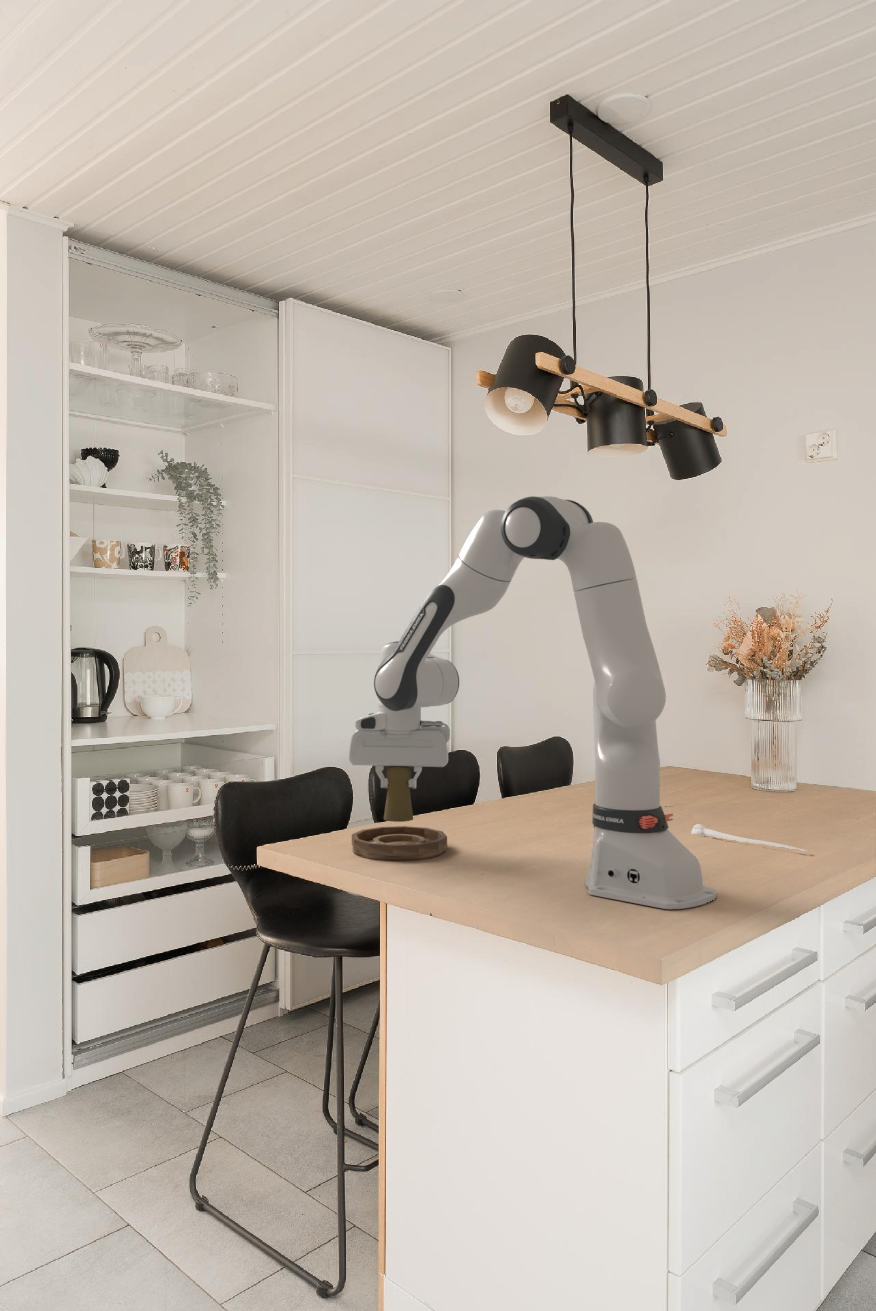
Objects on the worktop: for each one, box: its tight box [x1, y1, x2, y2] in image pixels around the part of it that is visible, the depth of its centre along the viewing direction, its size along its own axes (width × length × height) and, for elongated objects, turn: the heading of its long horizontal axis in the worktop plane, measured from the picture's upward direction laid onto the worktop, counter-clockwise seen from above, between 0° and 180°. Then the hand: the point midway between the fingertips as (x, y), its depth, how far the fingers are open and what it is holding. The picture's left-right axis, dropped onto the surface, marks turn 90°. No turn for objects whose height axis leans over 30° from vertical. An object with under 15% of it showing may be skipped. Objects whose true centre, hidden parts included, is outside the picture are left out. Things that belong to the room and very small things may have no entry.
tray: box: [351, 825, 448, 862], centre depth 192 cm, size 19×19×3 cm
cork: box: [383, 766, 414, 823], centre depth 192 cm, size 6×6×11 cm
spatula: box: [690, 823, 808, 851], centre depth 200 cm, size 28×4×3 cm, turn 41°
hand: (398, 788), depth 192 cm, fingers closed on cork, 4 cm apart
